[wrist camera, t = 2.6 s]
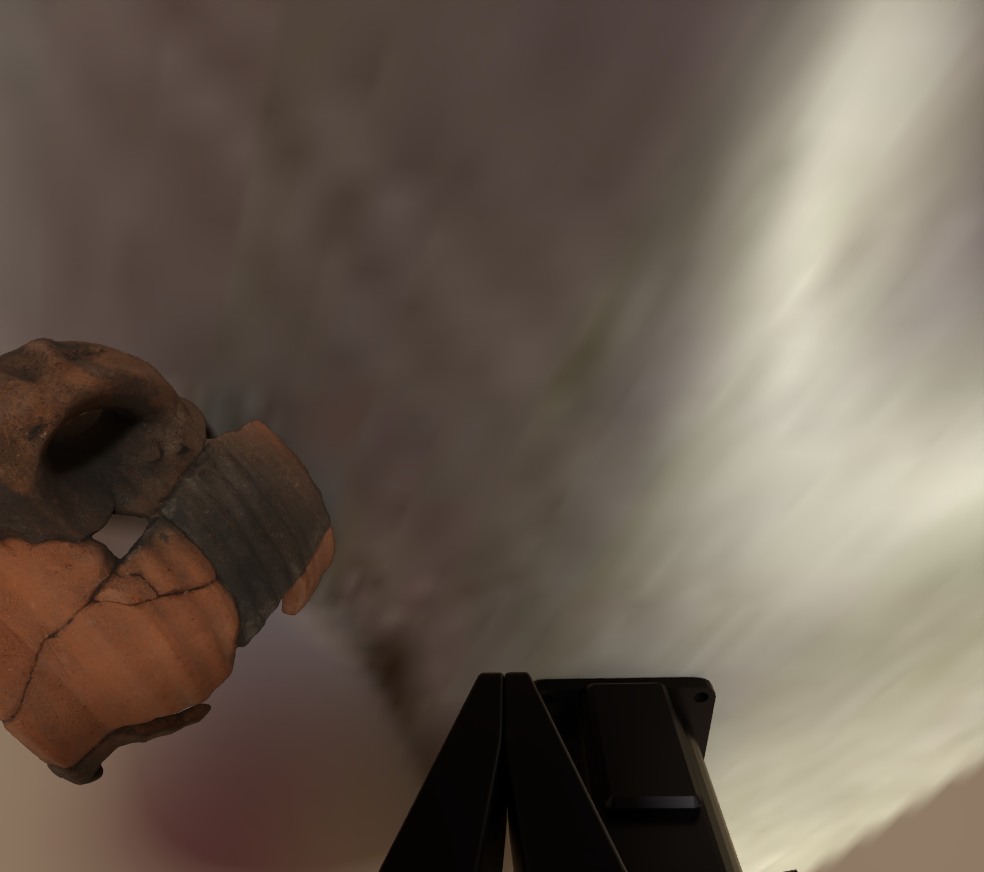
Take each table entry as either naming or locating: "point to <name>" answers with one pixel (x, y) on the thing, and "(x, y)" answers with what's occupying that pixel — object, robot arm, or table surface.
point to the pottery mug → (134, 551)
